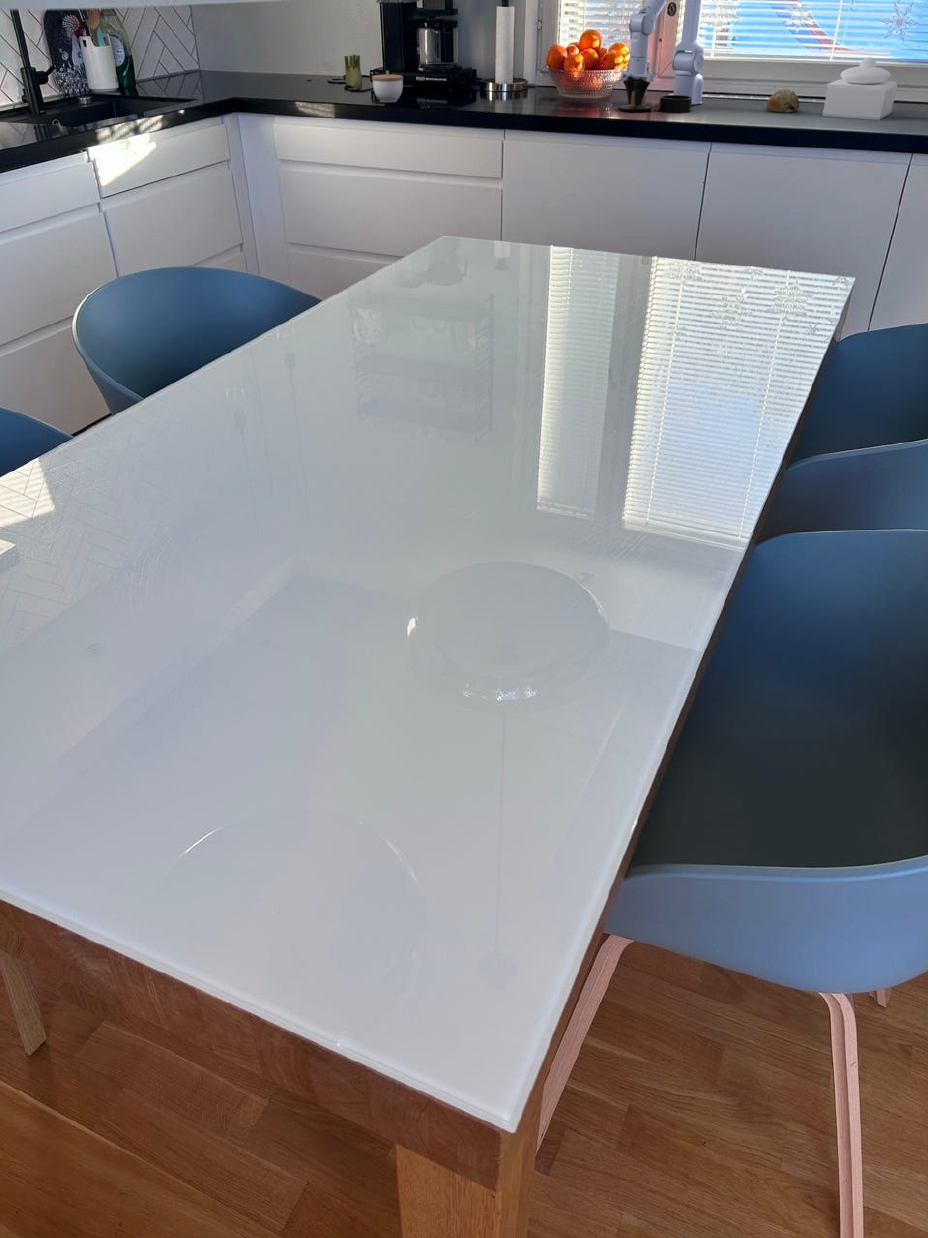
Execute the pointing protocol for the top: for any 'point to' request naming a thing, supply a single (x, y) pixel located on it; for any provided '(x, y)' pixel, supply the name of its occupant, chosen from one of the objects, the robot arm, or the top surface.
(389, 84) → the sugar bowl
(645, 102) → the sprinkles bottle
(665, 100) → the pan
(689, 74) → the robot arm
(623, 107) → the pan lid
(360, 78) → the fennel bulb
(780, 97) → the bread roll
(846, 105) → the white lidded box
